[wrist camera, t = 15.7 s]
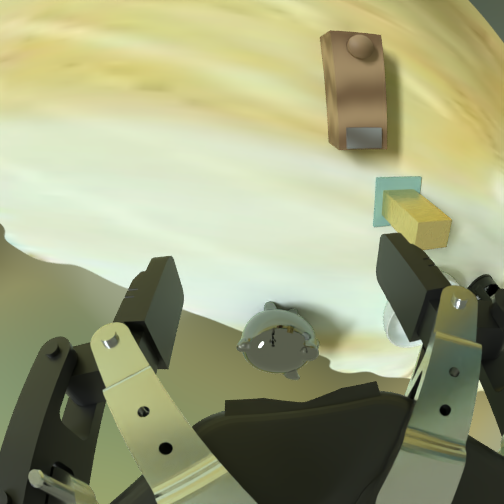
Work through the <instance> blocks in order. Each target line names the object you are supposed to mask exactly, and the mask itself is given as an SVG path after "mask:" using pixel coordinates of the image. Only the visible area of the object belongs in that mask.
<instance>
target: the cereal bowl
mask: <svg viewBox="0 0 504 504" xmlns="http://www.w3.org/2000/svg"><path fill="white" fill-rule="evenodd" d="M441 272H442V271H441ZM442 273H443V275H444V276H445V277H446V278H447V280H448V281H449V282H450V283H451V285H456V286H460V285H459V284H458V283H457V281H455V279H454V278H452V276H450V275H448V274H447V273H444V272H442ZM383 324H384V329H385V332H386V335H387V337H388V339H389V341H390V342H391V343H392V344H394V345H396V346H398V347H415V346H419V345H422V344H423V343H422V341H421V340H418V341H414V342H409V340H408V338H407V336H406V334H405V332H404V330H403V328H402V326H401V324H400V322H399V320H398V318H397V316H396V315H395V313H394V311H393V309H392V307H391V305H390V303H389V301H387V303H386V306H385V309H384V313H383Z"/></svg>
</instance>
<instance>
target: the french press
mask: <svg viewBox="0 0 504 504" xmlns="http://www.w3.org/2000/svg"><path fill="white" fill-rule="evenodd" d="M487 286H489V287H488V290H487V292H485V290H484V288H485V287H487ZM468 290H470V291H471V292H472V293H473V294H474V295H475V296H476V297H477V295H478V296H479V297H480V300H483V301H492V300H493V298H494V296H495V293H496V292H497V291H498V290H500V288H499V287H498V285H497V284H496V283H495V282H494V281H493V279H492V277H491V276H490V275H487V274H485V275H482V276H480V277H478V278H477V279H476V280H474V281H473V282H472V283H471V285H470V286H469V287H468ZM503 351H504V349H503Z"/></svg>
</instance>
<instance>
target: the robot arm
mask: <svg viewBox="0 0 504 504" xmlns="http://www.w3.org/2000/svg"><path fill="white" fill-rule="evenodd" d="M376 276H377V280H378V283H379V285H380V287H381V289H382V290H383V292H384V294H385V296H386V298H387V300H388V301H389V303H390V305H391V307H392V309H393V311H394V313H395V315H396V316H397V318H398V320H399V322H400V324H401V326H402V328H403V330H404V332H405V334H406V336H407V338H408V340H409V342H414V341H418V340H421V341H422V343H423V344H422V346H421V349H420V352H419V355H418V358H417V362H416V365H415V368H414V371H413V374H412V377H411V380H410V382H409V385H408V388H407V390H406V393H405V395H404V396H403V395H401V394H396V393H392V392H385V391H379V389H378V385H377V382H376V381H375V382H370V383H366V384H361V385H356V386H351V387H345V388H341V389H338V390H336V391H334V392H331V393H329V394H326V395H323V396H321V397H318V398H316V399H313V400H310V401H307V402H290V401H281V400H273V399H266V398H258V399H243V400H225V411H222V412H219V413H216V414H213V415H210V416H208V417H206V418H204V419H202V420H201V421H199V422H198V423H196V424H195V425H193V426H192V427H191V425H190V424H189V423H188V421H187V420H186V419H185V417H184V416H183V415H182V413H181V412H180V410H179V409H178V408H177V406H176V404H175V403H174V402H173V400H172V399H171V397H170V396H169V394H168V393H167V391H166V390H165V388H164V387H163V385H162V384H161V382H160V380H159V379H158V377H157V376H156V372H157V369H168V367H169V363H170V358H171V354H172V350H173V345H174V341H175V336H176V332H177V328H178V324H179V320H180V315H181V311H182V307H183V303H184V294H183V288H182V285H181V282H180V279H179V275H178V272H177V269H176V265H175V262H174V259H173V257H172V256H165V257H155V258H152V259H151V261H150V263H149V265H148V267H147V270H146V271H143V272H141V273H139V274H138V275H137V276H136V277H135V278H134V279H133V281H132V283H131V285H130V287H129V289H128V290H129V291H127V293H126V295H125V298H124V299H123V301H122V303H121V305H120V308H119V310H118V312H117V314H116V316H115V318H114V321H113V323H109V324H107V325H104V326H103V327H101V328H100V329H98V330H97V331H96V332H95V333H94V335H93V336H92V339H91V342H90V343H86V344H82V345H78V346H74V347H73V346H72V345H71V343H70V342H69V340H68V339H66V338H65V337H55V338H53V339H51V340H49V341H47V342H46V343H45V344H44V345H43V346H42V348H41V349H40V351H39V353H38V355H37V357H36V359H35V362H34V364H33V366H32V368H31V370H30V373H29V375H28V377H27V379H26V382H25V384H24V386H23V389H22V391H21V394H20V396H19V398H18V401H17V404H16V406H15V409H14V412H13V414H12V417H11V420H10V423H9V426H8V429H7V431H6V435H5V438H4V441H3V444H2V448H1V451H0V504H99V503H98V502H97V500H96V497H95V494H94V492H93V490H92V488H91V487H90V486H89V483H90V477H91V471H92V465H93V459H94V453H95V448H96V443H97V438H98V433H99V429H100V424H101V420H102V416H103V411H104V407H105V403H106V401H107V404H108V406H109V408H110V410H111V413H112V415H113V417H114V420H115V422H116V424H117V426H118V428H119V430H120V432H121V434H122V437H123V438H124V441H125V443H126V445H127V447H128V448H129V450H130V452H131V454H132V456H133V458H134V460H135V462H136V463H137V465H138V467H139V469H140V470H141V472H142V475H141V476H140V477H139V478H138V479H137V480H136V481H135V482H134V483H133V484H131V485H130V487H128V488H127V489H126V490H125V491H124V492H123V493H121V494H120V495H119V496H118V497H117V498H116V499H114V500H113V501H112V502H111V503H110V504H504V351H503V349H504V289H500V290H498V291H497V292H496V293H495V296H494V298H493V300H492V301H483V300H477V298H476V296H475V295H474V294H473V293H472V292H471V291H470V290H468V289H466V288H464V287H461V286H456V285H451V283H450V282H449V281H448V280H447V278H446V277H445V276H444V275H443V273H442V272H441V271H440V270H439V269H438V267H437V266H435V264H434V262H433V261H432V260H431V259H429V257H428V255H427V254H426V253H425V252H424V251H423V250H422V249H421V248H419V247H417V246H416V245H414V244H410V243H409V242H408V241H407V239H406V238H405V237H404V236H403V235H402V234H401V233H390V234H382V235H381V237H380V243H379V251H378V259H377V266H376ZM479 380H480V382H481V385H482V387H483V389H484V391H485V394H486V396H487V399H488V401H489V403H490V406H491V408H492V411H493V414H494V416H495V418H496V421H497V424H498V427H499V429H500V433H501V436H502V440H501V448H500V449H499V450H498V452H495V451H494V450H492V449H490V448H489V447H487V446H485V445H484V444H482V443H480V442H479V441H477V440H476V439H474V438H473V437H471V436H469V435H468V433H469V429H470V425H471V420H472V416H473V411H474V406H475V400H476V394H477V388H478V382H479ZM65 393H66V394H67V395H68V396H69V398H68V402H67V405H66V408H65V411H64V415H63V418H62V421H61V419H60V414H59V413H60V407H61V404H62V401H63V398H64V395H65Z"/></svg>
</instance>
